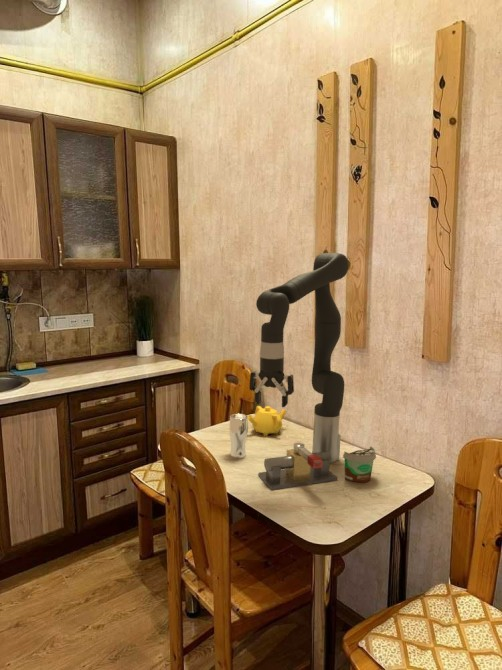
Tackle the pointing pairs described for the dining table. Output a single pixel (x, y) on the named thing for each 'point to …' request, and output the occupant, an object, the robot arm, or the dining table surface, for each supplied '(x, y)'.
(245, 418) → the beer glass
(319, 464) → the valve lever
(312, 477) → the valve pipe
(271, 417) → the teapot
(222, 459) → the dining table surface
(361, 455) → the food container
